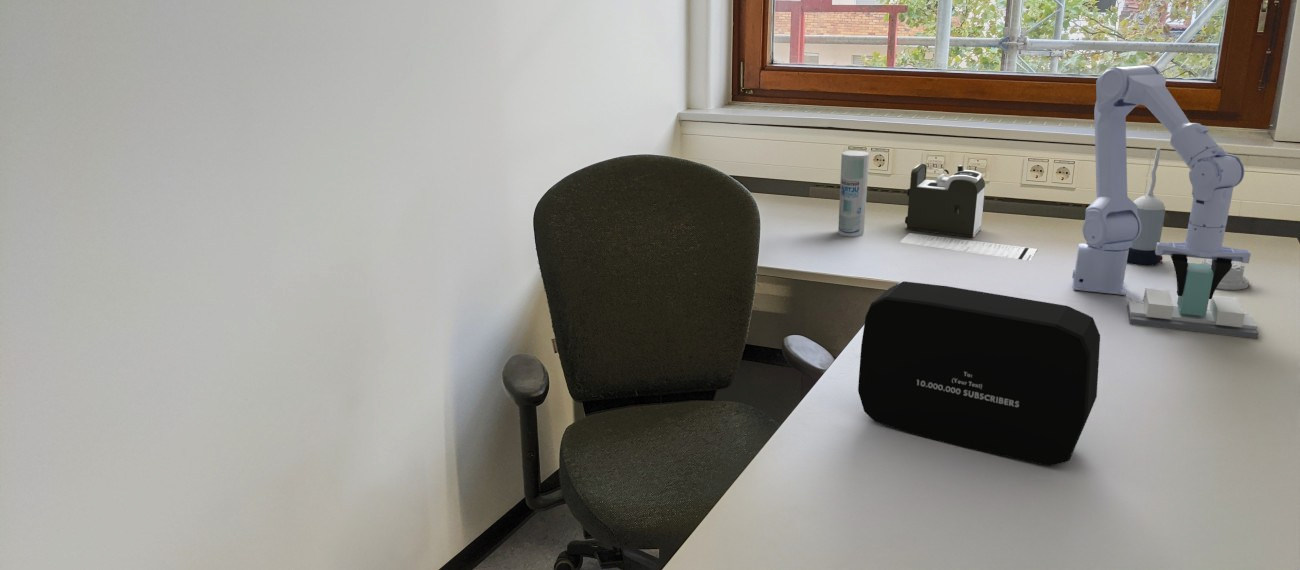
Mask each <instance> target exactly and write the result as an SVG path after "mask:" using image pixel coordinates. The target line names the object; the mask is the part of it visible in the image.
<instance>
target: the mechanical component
mask: <svg viewBox="0 0 1300 570" xmlns="http://www.w3.org/2000/svg"><path fill="white" fill-rule="evenodd" d="M1203 259H1204V260H1203V261H1202V262H1201V264H1208V265H1210V267H1211V265H1212V259H1205V258H1203ZM1231 263H1232V267H1231V269H1230V271H1229V272H1228V273H1227V274H1226V275H1225V276H1224V277H1223V279H1222V280H1221V281H1220V283H1219V284H1218V286H1217V288H1216V290H1219V289H1220V290H1225V291H1226V290H1229V291H1232V290H1233V291H1234V290H1235V291H1236V290H1244V289H1246V288H1248V287H1249V286H1250V285H1249V284H1250V279H1249V278H1248V277H1247V276H1245V275H1244V273H1245V265H1244V263H1242V262H1238V261H1232V262H1231Z"/></svg>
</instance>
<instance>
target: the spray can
mask: <svg viewBox="0 0 1300 570" xmlns="http://www.w3.org/2000/svg"><path fill="white" fill-rule="evenodd" d="M840 162H841V163H840V181H839V182H840V185H839V186H840V187H839V206H838V208H839V209H838V229H837V231H838V234H839V235H840V236H845V237H851V238H852V237H853V238H854V237H860V236H861V237H862V236H863V235H864V233H865V222H866V208H867V207H866V206H867V193H868V178H869V163H870V153H869V152H867V151H864V150H863V151H862V150H846V151H843V152H842V153H841V161H840Z"/></svg>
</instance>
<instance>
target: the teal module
mask: <svg viewBox="0 0 1300 570" xmlns="http://www.w3.org/2000/svg"><path fill="white" fill-rule="evenodd" d="M1213 275H1214V273H1213V271H1212V269H1211V267H1210V265H1208V264H1202V263H1196V262H1188V267H1187V271H1186V275H1185V280H1184V290H1183V294H1182V296H1178V295H1177V302H1176V305H1177V307H1178V308H1179V311H1180V313H1181V314H1190V315H1199V316H1206V312H1207V310H1208V307H1209V302H1210V301H1209V300H1210V299H1209V296H1210V291H1211V285H1212V280H1213Z"/></svg>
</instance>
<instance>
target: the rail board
mask: <svg viewBox="0 0 1300 570" xmlns="http://www.w3.org/2000/svg"><path fill="white" fill-rule="evenodd" d="M1209 302H1210V304H1209V306H1208V307H1209V308H1208V309H1207V312H1206V316H1199V315H1190V314H1181V313H1180V311H1179V308H1178V306H1176V305H1174V303H1173V300H1172V296H1171V293H1170V290H1166V289H1164V290H1163V289H1157V288H1156V289H1154V288H1145V289H1144V293H1143V300H1142V302H1138V301H1127V305H1126V307H1127V315H1128V318H1129V320H1128V321H1129V324H1130V325H1138V326H1145V327H1146V326H1147V327H1153V328H1165V329H1171V330H1172V329H1173V330H1179V331H1180V330H1181V331H1188V332H1189V331H1190V332H1195V333H1196V332H1197V333H1205V334H1212V335H1213V334H1214V335H1222V336H1231V337H1238V338H1239V337H1240V338H1249V339H1258V337H1259V332H1258V329H1257V328H1258V325H1257V323H1256V321H1255V320H1254V317H1253V315H1252V314H1248V313H1245V312H1244V309H1243V308H1242V305H1241V303H1240V301H1239V299H1238V297H1234V296H1231V297H1230V296H1223V295H1222V296H1221V295H1214V294H1213V296H1212V299H1210V301H1209Z"/></svg>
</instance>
